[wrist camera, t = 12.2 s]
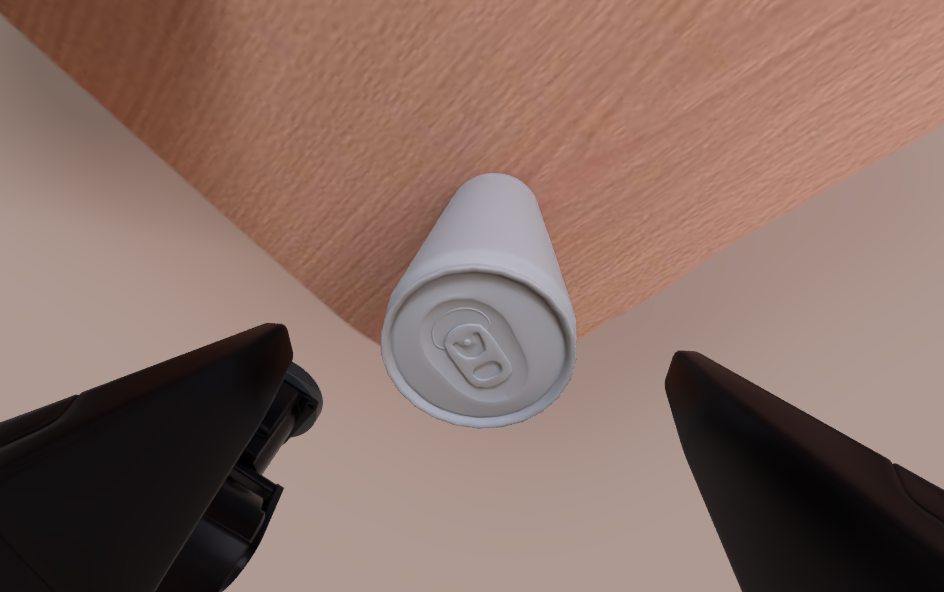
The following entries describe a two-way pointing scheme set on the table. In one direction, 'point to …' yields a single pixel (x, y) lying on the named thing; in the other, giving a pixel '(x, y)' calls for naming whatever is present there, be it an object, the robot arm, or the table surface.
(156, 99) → the table surface
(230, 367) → the robot arm
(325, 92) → the table surface
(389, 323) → the beverage can
